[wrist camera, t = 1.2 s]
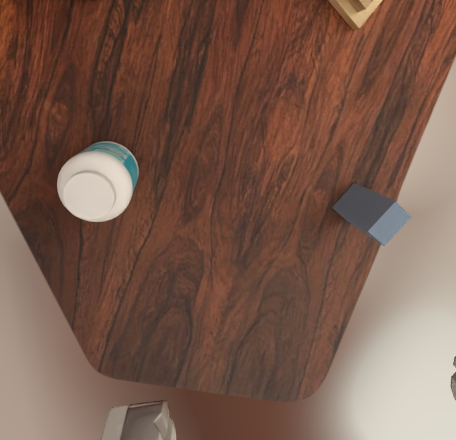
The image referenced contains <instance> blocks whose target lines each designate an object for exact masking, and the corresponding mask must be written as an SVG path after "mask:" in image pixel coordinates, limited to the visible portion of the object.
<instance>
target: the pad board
mask: <svg viewBox="0 0 456 440" xmlns="http://www.w3.org/2000/svg"><path fill="white" fill-rule="evenodd" d="M328 1H329V2H330V3H331V5H332V6H333V7H334V8H335V9H336V11H337V12H338V13H339V14H340V15H341V17H342V18H343V19H344V20H345V21H346V23H347V24H348V25H349V26H350V27H351V28H352V30H353V31H354V30H356V29H359V28H360V27H361V26H362V25H363V23H364V22H365V21H366V20H367V19H368V17H369V16H370V15H371V14H372V12H373V11H374V10H375V9H376V8H377V6H378V5H379V4H380V3H381V2H382V0H328Z"/></svg>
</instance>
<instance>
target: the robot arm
mask: <svg viewBox="0 0 456 440" xmlns="http://www.w3.org/2000/svg"><path fill="white" fill-rule="evenodd" d="M453 365H454V366H455V367H456V357H455V358H454V363H453ZM451 389H452V392H453V396H454V398H455V400H456V372H455V373H454V375H453V376H452V377H451ZM101 440H176V432H175V426H174V422H173V420H172V419H171V418H169V406H168V403H167V401H166V400H161V401H154V402H146V403H138V404H130V405H124V406H116V407H112V408H111V410H110V411H109V413H108V416H107V419H106V423H105V426H104V430H103V433H102V436H101Z"/></svg>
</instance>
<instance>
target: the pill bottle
mask: <svg viewBox="0 0 456 440" xmlns="http://www.w3.org/2000/svg"><path fill="white" fill-rule="evenodd" d="M138 174H139V170H138V164H137V161H136V159H135V157H134V156H133V154H132V153H131V152H130V151H129V150H128V149H127V148H125V147H124V146H122V145H120V144H118V143H115V142H110V141H104V142H98V143H95V144H93V145H91V146H89V147H88V148H86V149H85V150H83V151H82V152H80V153H79V154H77V155H75V156H74V157H72V158H71V159H70V160H68V161H67V162H66V163H65V164H64V166H63V167H62V169H61V171H60V173H59V175H58V180H57V190H58V194H59V197H60V199H61V201H62V203H63V205H64V206H65V207H66V208H67V209H68V210H69V211H70V212H71V213H72V214H73V215H75V216H77V217H78V218H81V219H83V220H86V221H91V222H102V221H107V220H110V219H113V218H115V217H117V216H118V215H120V214H121V213H122V212H123V211H124V210H125V209H126V207H127V206H128V204H129V202H130V200H131V197H132V194H133V191H134V188H135V185H136V183H137V179H138Z"/></svg>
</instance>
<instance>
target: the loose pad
mask: <svg viewBox="0 0 456 440" xmlns="http://www.w3.org/2000/svg"><path fill="white" fill-rule="evenodd" d="M332 208H333V209H334V210H335V211H336V212H337V213H338V214H339V215H341V216H342V217H343V218H344V219H345V220H346V221H348V222H349V223H351V224H352V225H354V226H355V227H357V228H358V229H360V230H361V231H362V232H364V233H365V234H367V235H368V236H370V237H371V238H373V239H374V240H376V241H377V242H379V243H380V244H382V245H383V246H385V245H386V243H388V241H389V240H390V239H391V238H392V237H393V236H394V235H395V234H396V233H397V232H398V231H399V230H400V229H401V228H402V227H403V225H404V224H405V223H406V222H407V221H408V220H409V219H410V218H411V216H410V215H409V214H408V213H407V212H406V211H405V210H404V209H403V208H402V207H401V206H400V205H399V204H398V203H397V202H396V201H394V200H392V199H390V198H387V197H385V196H383V195H381V194H379V193H376V192H374V191H372V190H370V189H367V188H365V187H363V186H361V185H359V184H356V183H353V185H352V186H351V187H350V188H349V189H348V190H347V191H346V192H345V193H344V195H343V196H342V197H341V198H340V199H339V200H338V201H337V202H336V204H335V205H334V206H333V207H332Z"/></svg>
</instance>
